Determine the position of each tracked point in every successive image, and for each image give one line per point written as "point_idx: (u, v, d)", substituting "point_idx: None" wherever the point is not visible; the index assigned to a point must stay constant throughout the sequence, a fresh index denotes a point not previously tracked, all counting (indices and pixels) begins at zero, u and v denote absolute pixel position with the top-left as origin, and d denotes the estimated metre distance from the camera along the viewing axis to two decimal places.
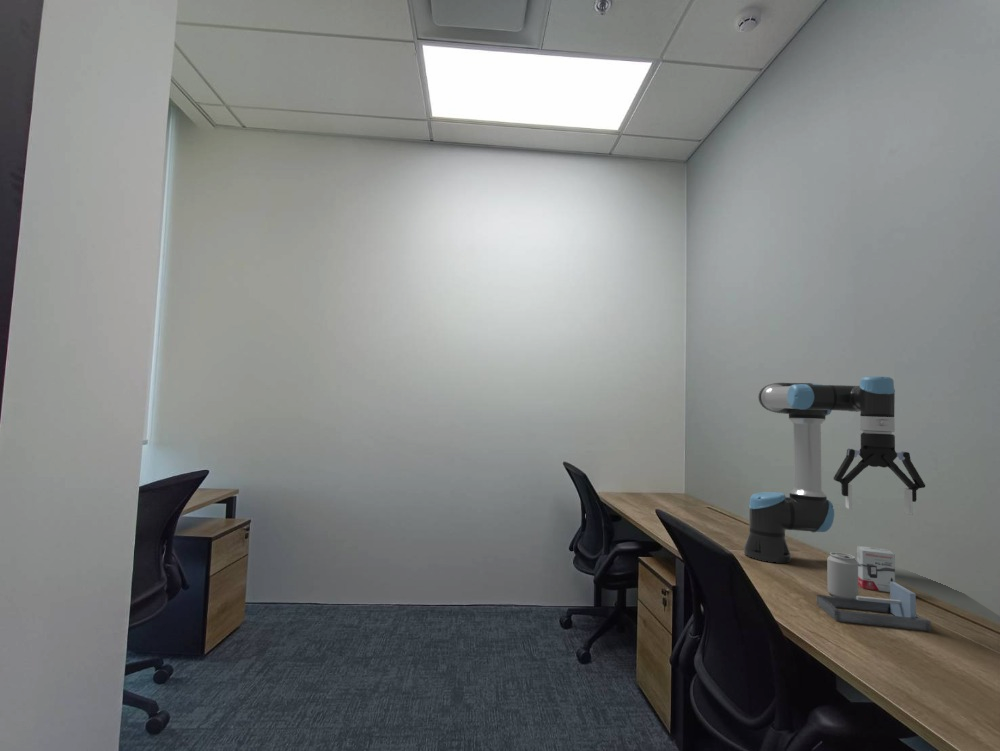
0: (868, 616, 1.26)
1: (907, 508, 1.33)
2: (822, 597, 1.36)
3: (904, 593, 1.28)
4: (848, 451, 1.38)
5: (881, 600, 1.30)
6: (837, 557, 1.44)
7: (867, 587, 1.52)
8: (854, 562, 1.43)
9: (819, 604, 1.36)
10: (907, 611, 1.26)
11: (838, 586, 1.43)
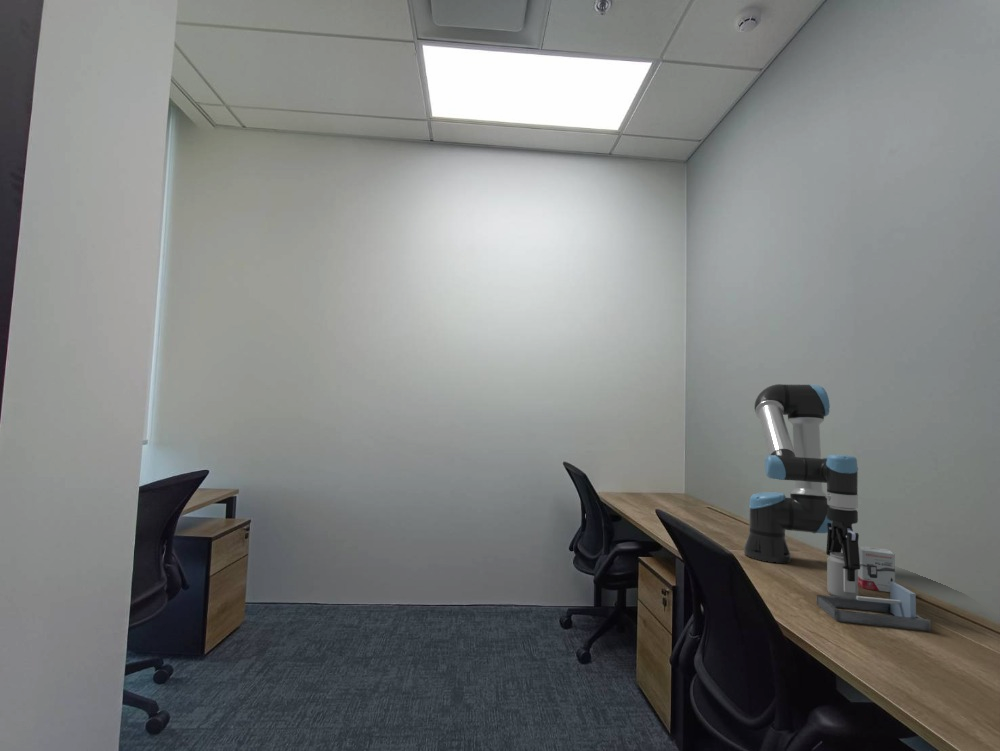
0: (868, 616, 1.26)
1: None
2: (822, 597, 1.36)
3: (904, 593, 1.28)
4: None
5: (881, 600, 1.30)
6: (837, 557, 1.44)
7: (867, 587, 1.52)
8: None
9: (819, 604, 1.36)
10: (907, 611, 1.26)
11: (838, 585, 1.43)
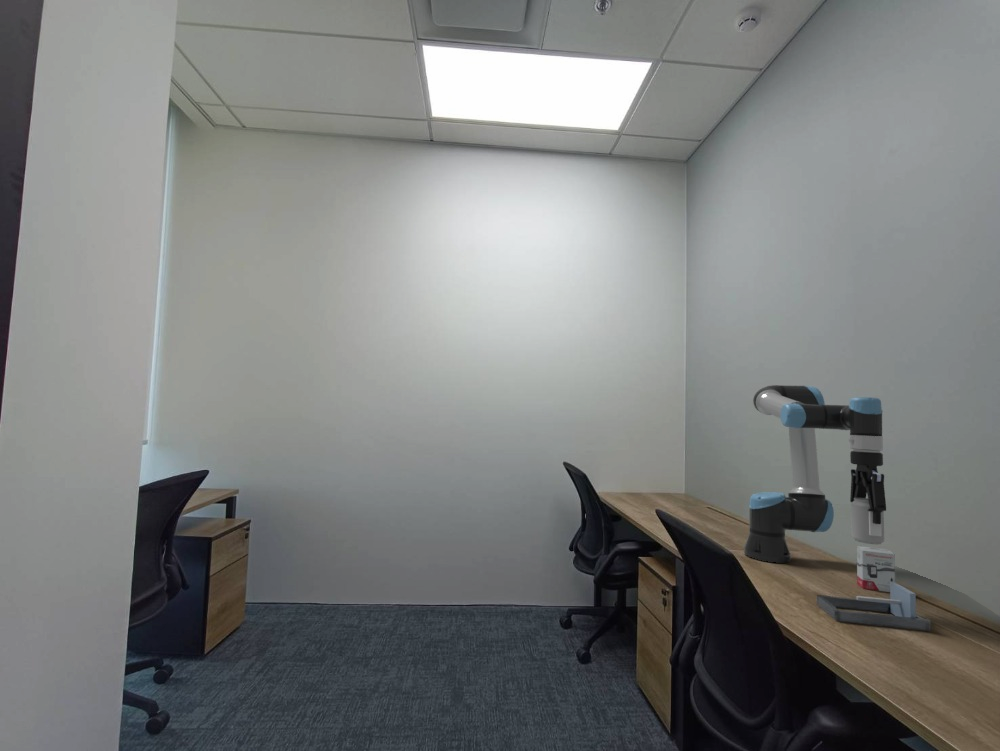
0: (868, 616, 1.26)
1: None
2: (822, 597, 1.36)
3: (904, 593, 1.28)
4: None
5: (881, 600, 1.30)
6: (861, 501, 1.40)
7: (867, 587, 1.52)
8: None
9: (819, 604, 1.36)
10: (907, 611, 1.26)
11: (863, 530, 1.39)
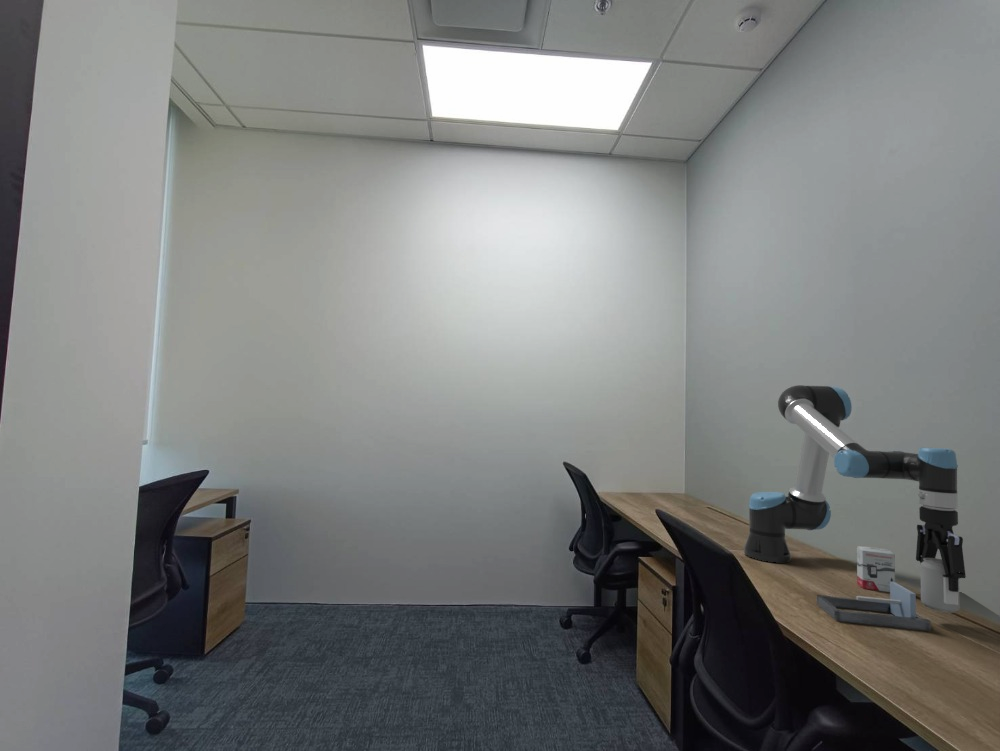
0: (868, 616, 1.26)
1: None
2: (822, 597, 1.36)
3: (904, 593, 1.28)
4: None
5: (881, 600, 1.30)
6: (934, 564, 1.27)
7: (867, 587, 1.52)
8: None
9: (819, 604, 1.36)
10: (907, 611, 1.26)
11: (936, 596, 1.26)
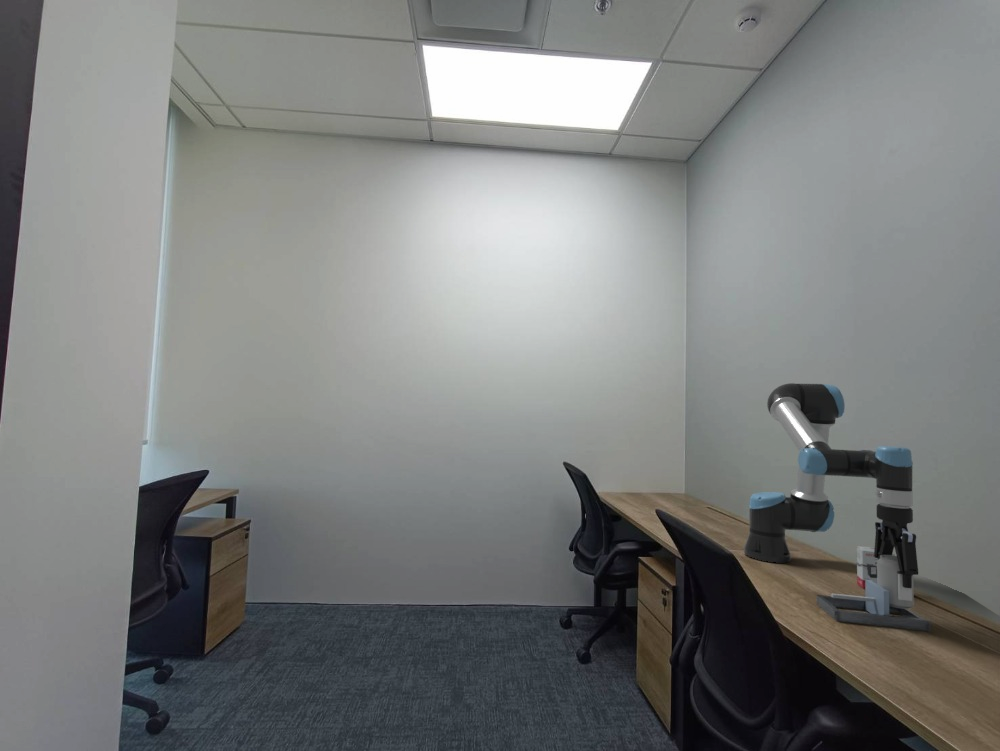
0: (868, 616, 1.26)
1: None
2: (822, 597, 1.36)
3: (878, 590, 1.29)
4: None
5: (856, 597, 1.31)
6: (889, 561, 1.29)
7: None
8: None
9: (819, 604, 1.36)
10: (881, 608, 1.27)
11: (891, 593, 1.28)
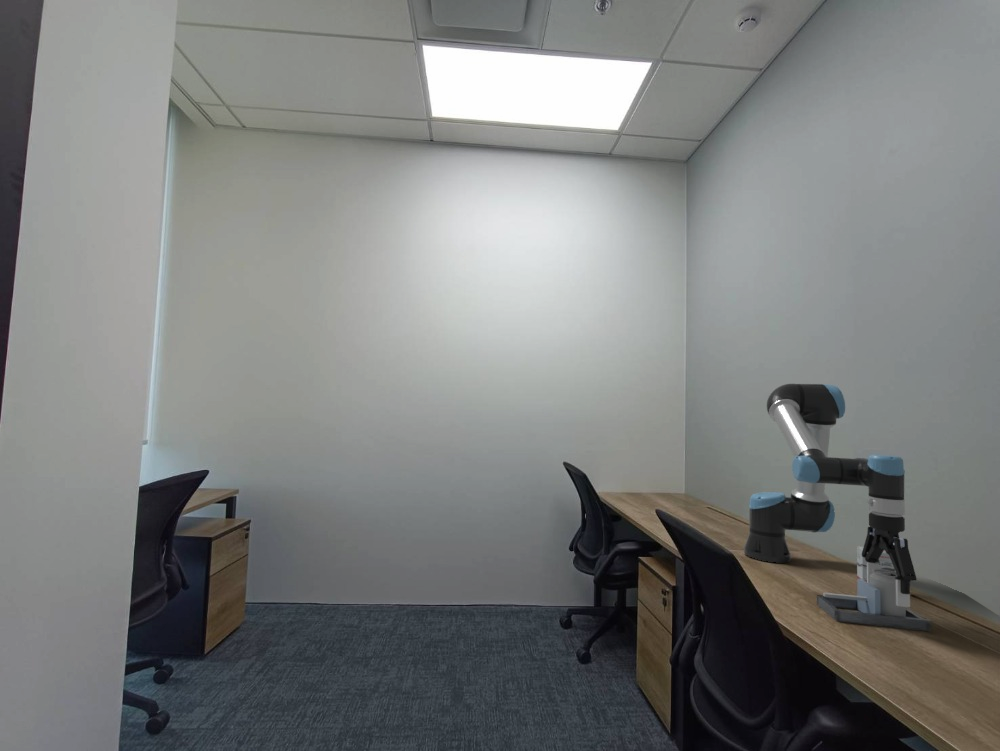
0: (868, 616, 1.26)
1: None
2: (822, 597, 1.36)
3: (869, 589, 1.29)
4: None
5: (847, 597, 1.31)
6: (882, 575, 1.29)
7: None
8: None
9: (819, 604, 1.36)
10: (872, 607, 1.28)
11: (883, 607, 1.28)
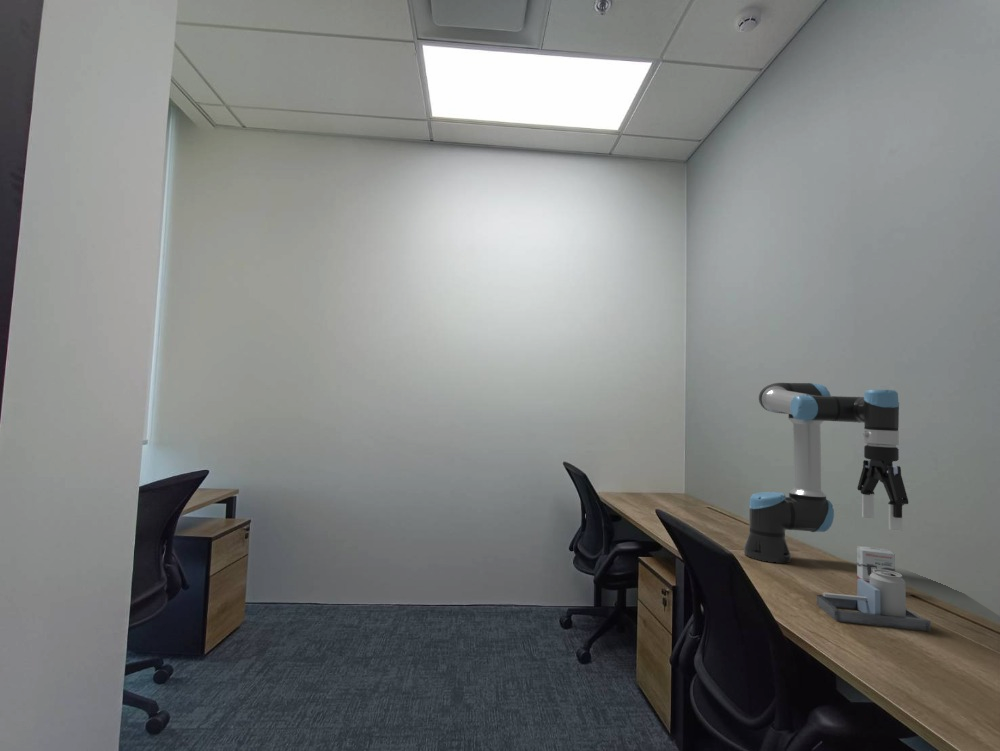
0: (868, 616, 1.26)
1: None
2: (822, 597, 1.36)
3: (869, 589, 1.29)
4: None
5: (847, 597, 1.31)
6: (882, 575, 1.29)
7: None
8: (901, 581, 1.27)
9: (819, 604, 1.36)
10: (872, 607, 1.28)
11: (883, 607, 1.28)
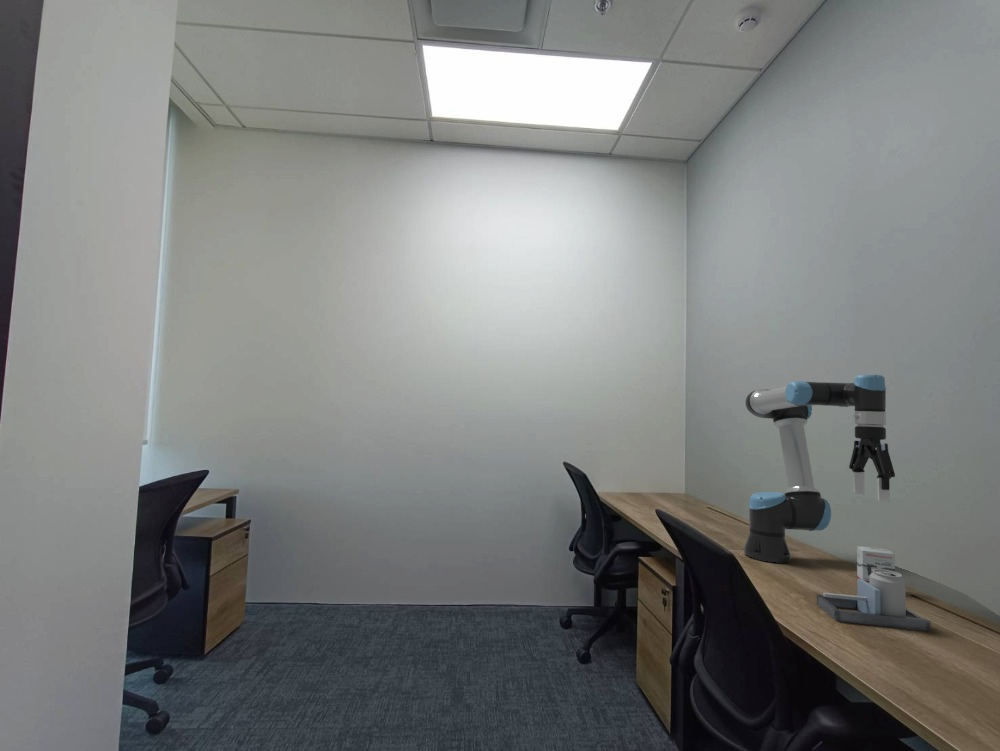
0: (868, 616, 1.26)
1: None
2: (822, 597, 1.36)
3: (869, 589, 1.29)
4: None
5: (847, 597, 1.31)
6: (882, 575, 1.29)
7: None
8: (901, 581, 1.27)
9: (819, 604, 1.36)
10: (872, 607, 1.28)
11: (883, 607, 1.28)
